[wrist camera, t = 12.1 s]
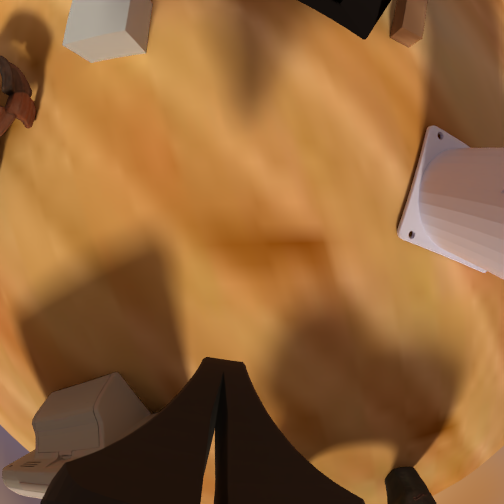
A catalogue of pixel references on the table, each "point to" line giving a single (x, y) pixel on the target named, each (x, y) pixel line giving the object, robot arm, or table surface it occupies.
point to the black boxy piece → (351, 13)
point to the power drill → (407, 487)
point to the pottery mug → (15, 97)
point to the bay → (409, 21)
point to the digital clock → (75, 430)
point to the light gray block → (108, 28)
